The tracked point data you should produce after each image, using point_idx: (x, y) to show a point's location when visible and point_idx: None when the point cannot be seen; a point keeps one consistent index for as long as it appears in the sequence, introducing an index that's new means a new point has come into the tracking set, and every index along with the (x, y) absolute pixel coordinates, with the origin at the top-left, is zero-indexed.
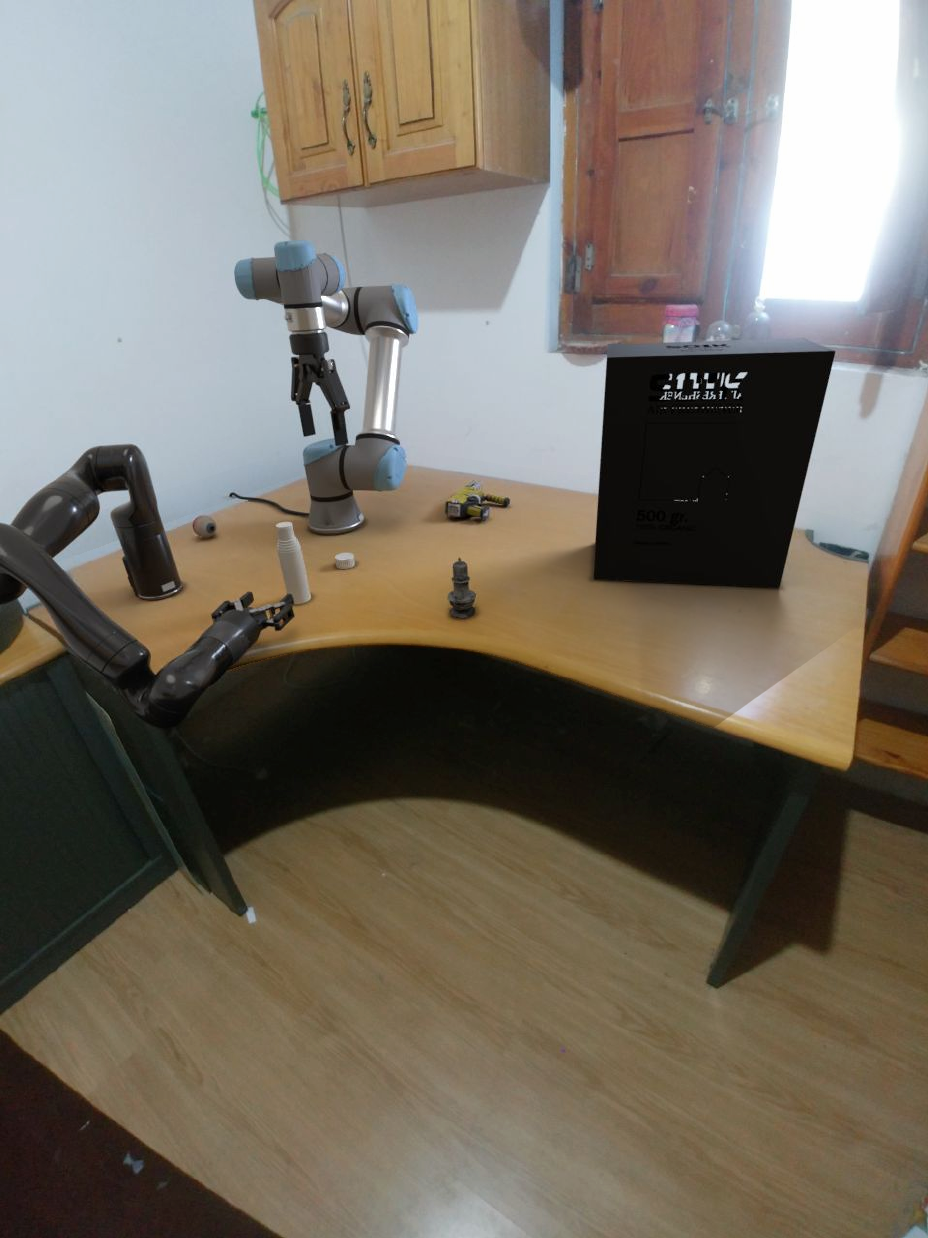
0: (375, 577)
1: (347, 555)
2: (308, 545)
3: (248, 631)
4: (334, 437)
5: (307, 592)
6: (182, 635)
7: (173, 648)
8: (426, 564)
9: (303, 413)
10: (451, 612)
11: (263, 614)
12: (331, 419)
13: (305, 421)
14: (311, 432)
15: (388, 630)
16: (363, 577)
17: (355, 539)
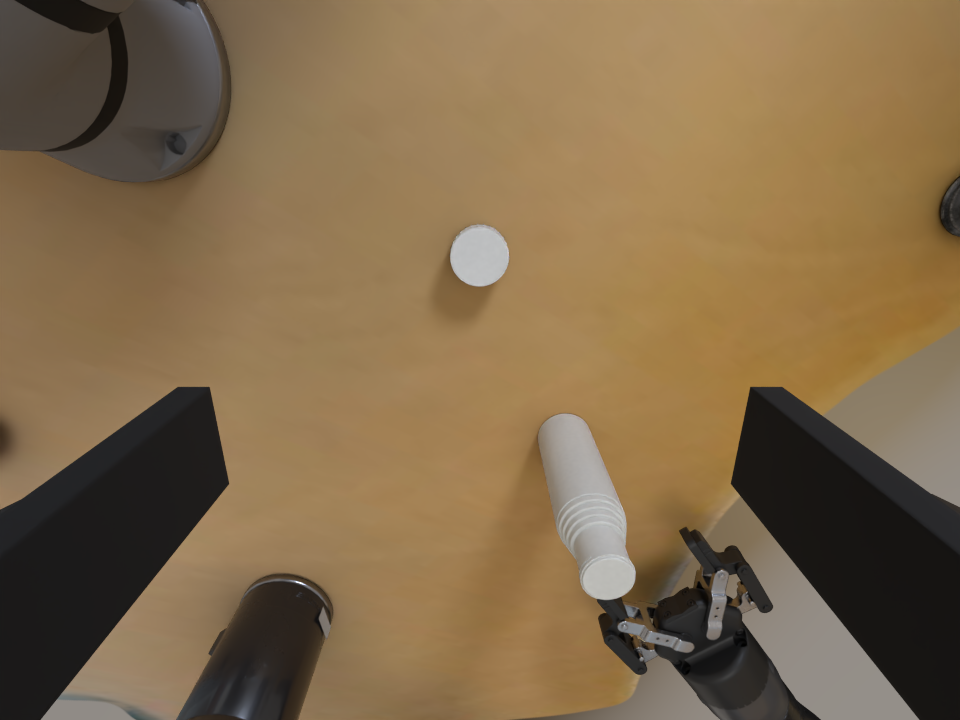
0: (619, 239)
1: (481, 247)
2: (251, 252)
3: (762, 655)
4: (770, 527)
5: (592, 436)
6: (515, 634)
7: (548, 655)
8: (683, 59)
9: (84, 627)
10: (956, 230)
11: (726, 614)
12: (883, 674)
13: (149, 547)
14: (204, 435)
15: (855, 378)
16: (591, 263)
17: (312, 104)
